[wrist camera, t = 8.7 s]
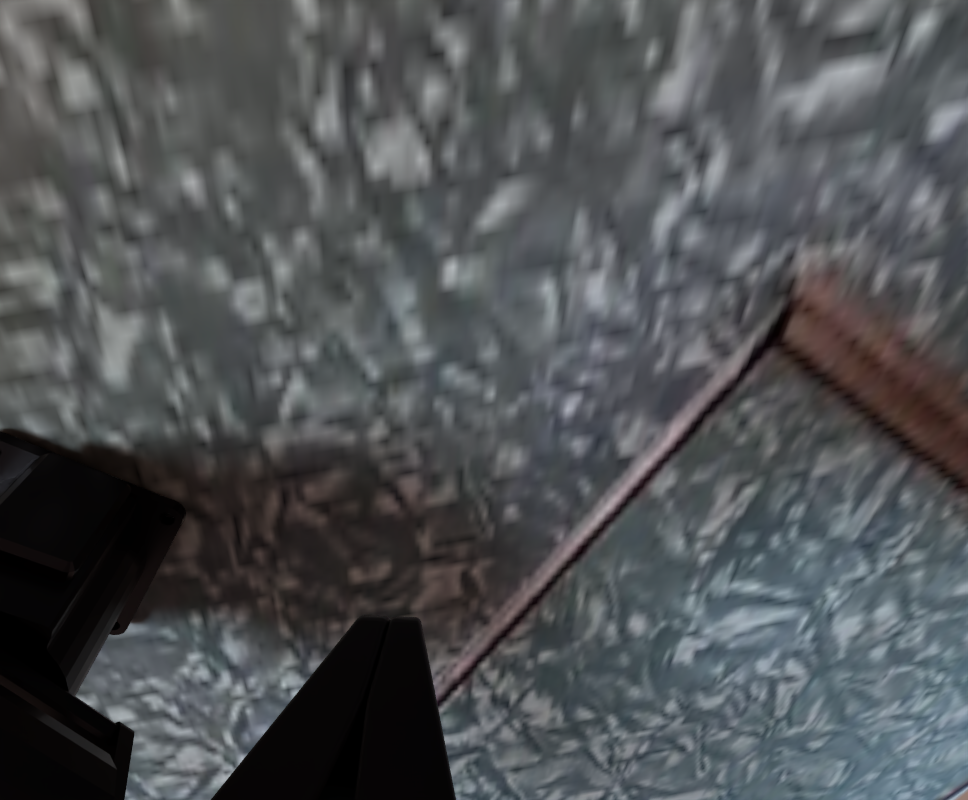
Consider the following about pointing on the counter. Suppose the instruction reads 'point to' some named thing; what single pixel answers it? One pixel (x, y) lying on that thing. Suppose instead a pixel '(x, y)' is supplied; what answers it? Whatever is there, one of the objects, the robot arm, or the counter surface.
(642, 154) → the counter surface
